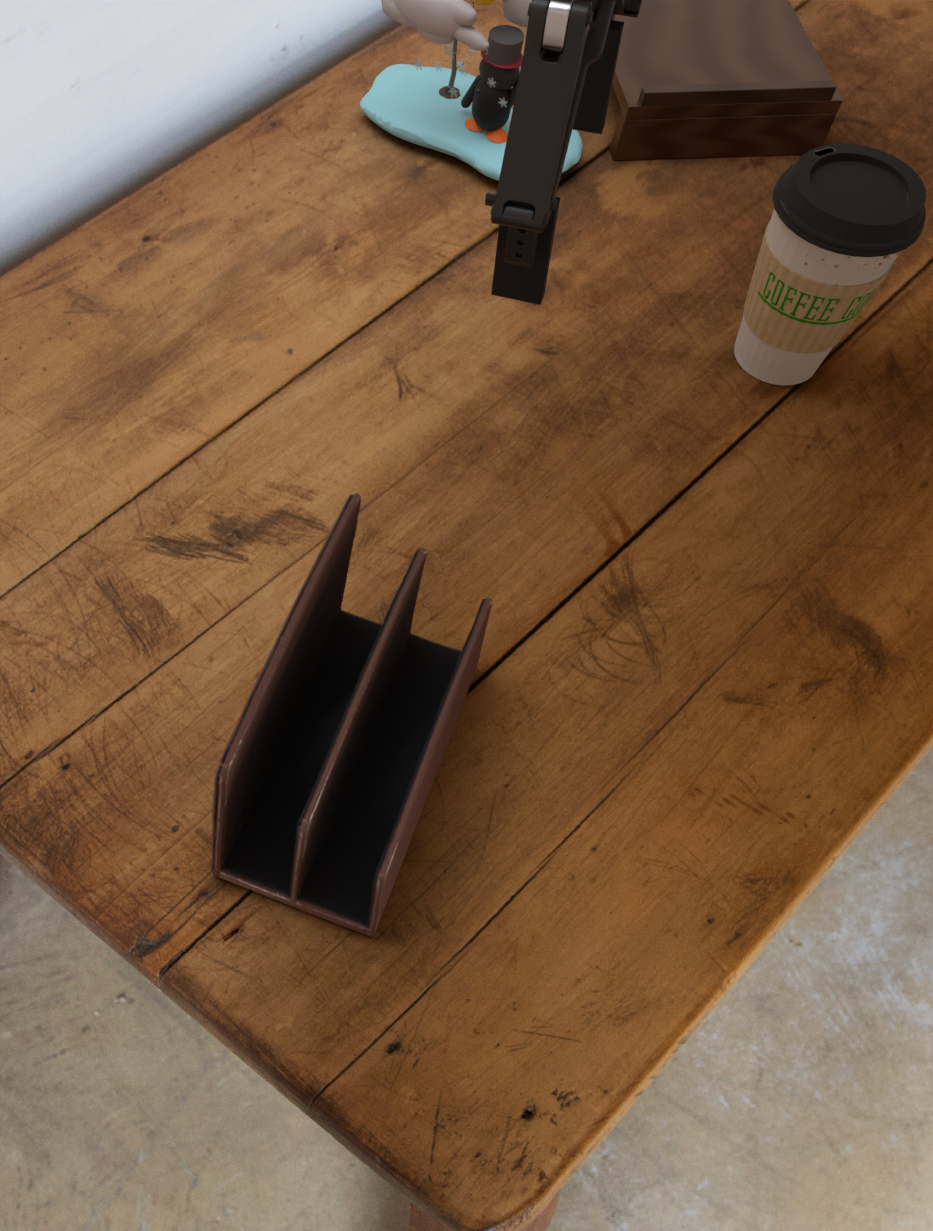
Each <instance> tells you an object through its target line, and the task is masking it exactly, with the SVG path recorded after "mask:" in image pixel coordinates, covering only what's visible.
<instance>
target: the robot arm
mask: <svg viewBox="0 0 933 1231" xmlns="http://www.w3.org/2000/svg"><path fill="white" fill-rule="evenodd" d="M641 4H642V0H532V3H530V4H529V7H528V12H527V16H529V19H528V26H527V27H526V34H525V40H524V47H523V48H524V49H523V53H522V55H523V60H522V65H521V70H520V75H519V80H518V85H517V90H516V96H515V101H514V105H513V106H512V108H513V111H512V116H511V121H510V126H509V131H508V137H507V142H506V147H505V152H504V157H503V162H502V167H501V172H500V178H499V181H498V183H497V188H496V193H495V192H490V191H489V192H488V191H487V192H486V193H485V200H484V205H485V206H487V207H490V208H491V209H490V222H491V224H493V225H498V232H497V241H496V250H495V256H494V257H495V259H494V266H493V274H492V275H493V276H492V284H491V293H490V295H491V296H495V297H496V296H497V297H501V298H505V299H511V300H515V301H518V302H525V303H530V304H534V305H539V306H541V305H542V303H543V300H544V297H545V294H546V286H547V281H548V274H549V270H550V264H551V258H552V257H551V256H552V251H553V246H554V245H553V244H554V238H555V233H556V227H557V220H558V214H559V208H560V202H561V197H560V196H557V193H558V189H559V185H560V181H561V179H562V178H561V177H562V174H563V173H562V170H563V166H564V162H565V157H566V153H567V149H568V145H569V141H570V137H571V133H572V129H573V130H577V131H578V132H579V131H580V132H586V133H592V134H596V135H602V134H603V131H604V129H605V125H606V119H607V115H608V110H609V106H610V105H609V104H610V98H611V94H612V89H613V86H612V84H613V79H614V74H615V68H616V63H617V58H618V53H619V48H620V42H621V37H622V32H623V27H624V22H621V21H615V15H622V16H628V17H635V18H638V15H639V12H640V8H641Z"/></svg>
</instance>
